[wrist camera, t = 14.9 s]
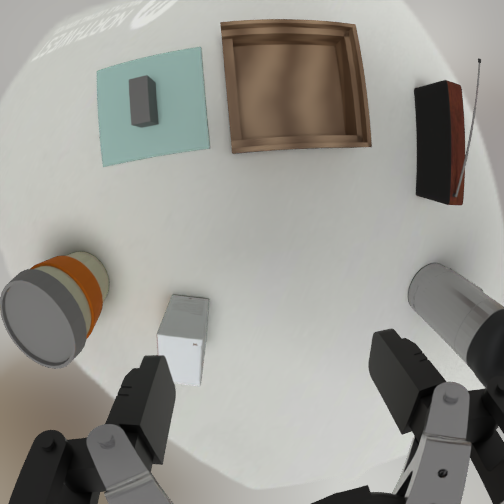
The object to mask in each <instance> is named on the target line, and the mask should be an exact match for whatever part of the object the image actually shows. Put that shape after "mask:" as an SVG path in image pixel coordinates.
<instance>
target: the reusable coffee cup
mask: <svg viewBox="0 0 504 504" xmlns="http://www.w3.org/2000/svg"><path fill="white" fill-rule="evenodd" d="M108 291H109V278H108V274H107V272H106V270H105V268H104V266H103V265H102V263H101V262H100V261H99V260H98V259H97V258H96V257H94V256H93V255H91V254H89V253H86V252H81V251H80V252H74V253H72V254H69V255H67V256H57V257H54V258H51V259H49V260H46V261H44V262H41V263H39V264H36V265H34V266H33V267H32V268H31V269H27V270H24V271H22V272H20V273H19V274H18V275H17V276H16V277H15V278H13V279H12V280H11V281H10V282H9V283H8V284H7V285H6V286H5V288H4V289H3V291H2V294H1V297H0V310H1V316H2V320H3V322H4V325H5V328H6V330H7V332H8V334H9V335H10V337H11V339H12V340H13V342H14V343H15V344H16V345H17V347H18V348H19V349H20V350H21V351H22V352H23V353H24V354H25V355H26V356H27V357H29V358H30V359H32V360H33V361H35V362H36V363H38V364H40V365H42V366H45V367H48V368H54V369H56V368H63V367H65V366H67V365H68V364H69V363H70V362H71V361H72V360H73V359H74V358H75V357H76V356H77V355H78V354H79V353H80V352H81V351H82V349H83V347H84V346H85V342H86V339H87V338H88V337H89V335H90V334H91V332H92V330H93V328H94V326H95V324H96V322H97V320H98V318H99V316H100V313H101V310H102V305H103V301H104V300H105V298H106V296H107V293H108Z"/></svg>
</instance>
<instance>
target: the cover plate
mask: <svg viewBox="0 0 504 504" xmlns="http://www.w3.org/2000/svg"><path fill="white" fill-rule="evenodd" d="M97 101H98V119H99V132H100V143H101V153H102V162H103V167H106V166H110V165H115V164H120V163H124V162H129V161H134V160H139V159H145V158H150V157H156V156H162V155H168V154H174V153H180V152H187V151H194V150H201V149H209V148H210V144H209V134H208V124H207V113H206V102H205V91H204V79H203V66H202V53H201V47H196V48H190V49H184V50H178V51H173V52H168V53H163V54H158V55H153V56H149V57H145V58H140V59H136V60H133V61H129V62H125V63H121V64H118V65H115V66H111V67H108V68H105V69H101V70H98V71H97Z"/></svg>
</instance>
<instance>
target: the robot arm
mask: <svg viewBox="0 0 504 504" xmlns="http://www.w3.org/2000/svg"><path fill="white" fill-rule="evenodd" d="M408 299H409V303H410V306H411V307H412V308H413V309H414V310H415V311H416V312H417V313H418V314H419V315H420V316H421V317H422V318H423V319H424V320H425V321H426V322H427V323H428V324H429V325H430V326H431V327H432V328H433V329H434V330H435V331H436V332H437V333H438V334H439V336H440V337H441V338H442V339H443V340H444V341H445V342H446V343H447V344H448V345H449V346H450V347H451V348H452V349H453V350H454V351H455V352H456V353H457V354H458V355H459V356H460V357H461V358H462V360H463V361H464V362H465V363H466V364H467V365H468V366H469V367H470V368H471V369H472V371H473V372H474V373H475V375H476V377H477V378H478V379H479V381H480V382H481V383H482V384H483V385H484V386H485V389H480V390H472V391H467V389H466V388H465V387H464V386H462V385H461V384H458V383H455V382H446V381H445V379H444V378H443V377H442V376H441V374H440V373H439V372H438V371H437V369H436V368H435V367H434V366H433V364H432V363H431V362H430V361H429V360H427V357H426V356H425V355H424V353H423V354H422V351H421V350H420V349H419V347H418V346H417V345H416V344H415V343H413V342H411V341H410V340H408V339H406V338H403V339H401V337H400V336H399V335H398V334H397V332H396V331H395V330H394V329H387V330H383V331H378V332H375V333H374V334H373V338H372V345H371V351H370V358H369V372H370V376H371V378H372V380H373V381H374V383H375V385H376V387H377V389H378V391H379V392H380V394H381V396H382V398H383V400H384V402H385V404H386V405H387V407H388V409H389V411H390V413H391V415H392V417H393V419H394V420H395V422H396V424H397V426H398V428H399V430H400V432H401V434H405V433H408V432H411V431H412V432H413V434H414V435H415V436H414V438H413V440H412V443H411V446H410V450H409V453H408V456H407V459H406V462H405V465H404V468H403V471H402V473H401V476H400V478H399V480H398V482H397V484H396V486H395V488H394V490H393V492H392V494H391V493H382V492H370V490H369V487H368V485H367V486H363V487H359V488H356V489H352V490H348V491H344V492H340V493H335V494H333V495H330V496H328V497H326V498H324V499H321V500H319V501H316V502H314V503H311V504H460V503H461V499H462V495H463V491H464V486H465V481H466V476H467V471H468V465H469V459H470V458H471V460H472V462H473V464H474V466H475V468H476V470H477V471H478V473H479V475H480V478H481V479H482V481H483V483H484V485H485V488H486V490H487V492H488V494H489V496H490V498H491V500H492V503H493V504H504V442H503V440H502V438H501V437H500V435H499V434H498V432H497V431H496V429H497V428H498V426H499V427H500V429H501V430H502V432H503V433H504V307H503V306H502V305H501V304H499V303H498V302H496V301H495V300H493V299H492V298H491V297H489V296H488V295H486V294H485V293H483V290H482V289H481V288H479V287H478V286H476V285H475V284H473V283H472V282H470V281H469V280H467V279H466V278H464V277H463V276H461V275H460V274H458V273H457V272H455V271H453V270H452V269H448V268H446V267H445V266H443V265H441V264H438V263H433V264H429V265H427V266H425V267H424V268H422V269H421V270H420V271H419V272H418V273H417V275H416V276H415V277H414V279H413V281H412V283H411V285H410V288H409V293H408ZM175 398H176V391H175V385H174V382H173V379H172V376H171V373H170V369H169V366H168V363H167V360H166V357H165V356H164V355H152V356H144V358H143V360H142V363H141V365H140V368H133V369H132V370H131V371H130V372H129V373H128V374H127V375H126V376H125V378H124V380H123V382H122V385H121V388H120V389H119V392H118V396H116V399H115V401H114V404H113V406H112V409H111V411H110V414H109V416H108V419H107V421H106V423H105V424H104V425H100V426H98V427H96V428H95V429H93V430H92V431H91V432H90V433H89V435H88V437H87V438H82V439H72V440H66V438H65V437H64V436H63V435H62V433H60V432H59V431H56V430H48V431H44V432H42V433H41V434H39V435H38V436H37V437H36V438H35V440H34V442H33V444H32V446H31V449H30V451H29V453H28V455H27V458H26V460H25V462H24V465H23V467H22V469H21V472H20V474H19V477H18V479H17V482H16V484H15V488H14V490H13V492H12V495H11V498H10V501H9V504H98V499H99V495H100V492H103V491H106V492H105V497H106V499H107V501H108V503H109V504H173V503H172V501H171V500H170V499H169V497H168V496H167V495H166V493H165V492H164V491H163V489H162V488H161V486H160V485H159V484H158V482H157V481H156V479H155V478H154V476H153V475H152V473H151V468H152V464H161V465H162V464H163V459H164V454H165V449H166V443H167V438H168V433H169V428H170V423H171V418H172V413H173V408H174V403H175Z"/></svg>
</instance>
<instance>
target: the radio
mask: <svg viewBox="0 0 504 504" xmlns="http://www.w3.org/2000/svg"><path fill="white" fill-rule="evenodd" d="M478 62H479V69H478V81H477V91H476V100H475V107H474V113H473V119H472V125H471V131H470V136H469V142H468V147H467V151H466V155H465V128H464V111H463V99H462V89H461V86H460V85H459V84H456V83H453V82H450V81H446V80H444V81H440V82H436V83H433V84H429V85H426V86H422V87H419V88H415V89H414V95H415V109H416V131H417V177H416V195H417V196H420V197H423V198H427V199H430V200H434V201H437V202H440V203H443V204H447V205H462V204H463V196H464V178H465V165H466V161H467V156H468V150H469V146H470V141H471V135H472V130H473V124H474V118H475V111H476V102H477V93H478V85H479V73H480V63H481V59H478Z"/></svg>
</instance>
